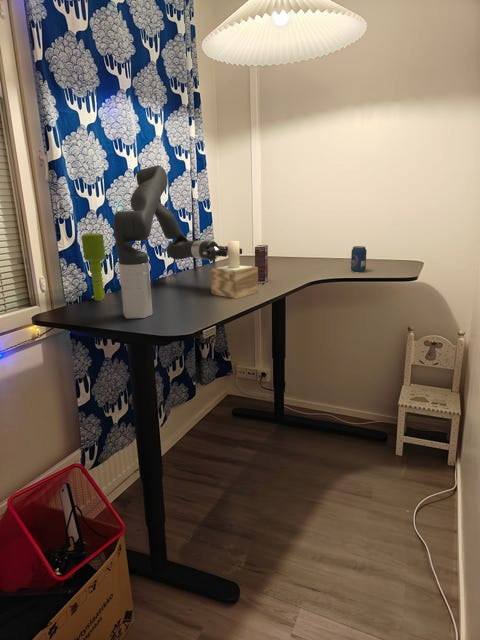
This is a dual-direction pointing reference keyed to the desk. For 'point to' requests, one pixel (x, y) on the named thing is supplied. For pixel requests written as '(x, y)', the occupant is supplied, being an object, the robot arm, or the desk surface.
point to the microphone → (95, 260)
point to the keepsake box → (234, 282)
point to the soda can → (358, 259)
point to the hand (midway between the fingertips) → (234, 252)
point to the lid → (233, 258)
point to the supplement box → (262, 262)
